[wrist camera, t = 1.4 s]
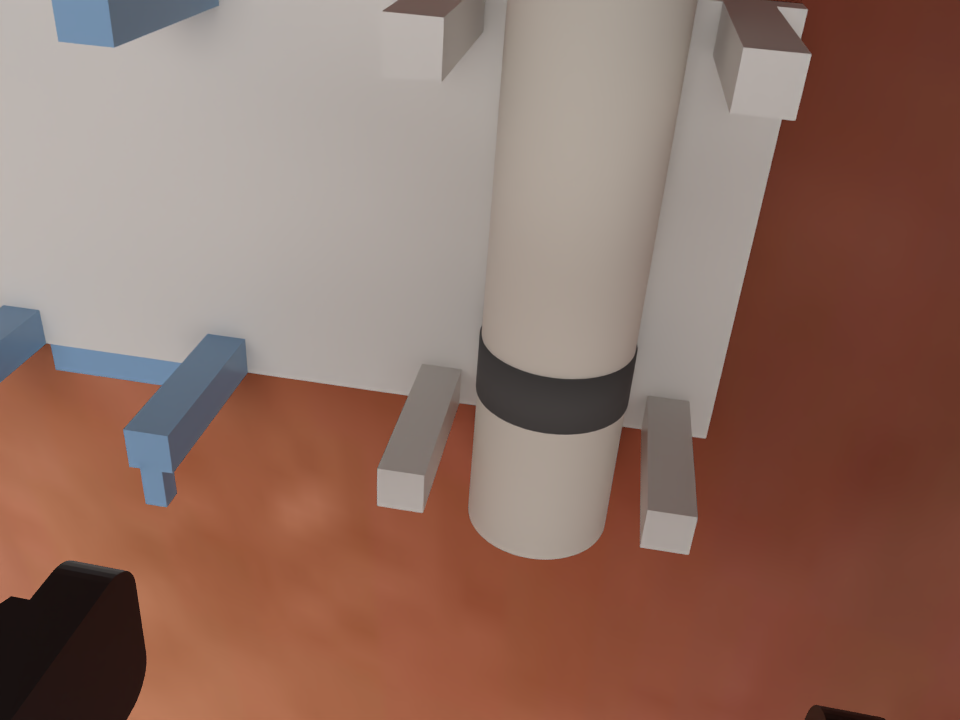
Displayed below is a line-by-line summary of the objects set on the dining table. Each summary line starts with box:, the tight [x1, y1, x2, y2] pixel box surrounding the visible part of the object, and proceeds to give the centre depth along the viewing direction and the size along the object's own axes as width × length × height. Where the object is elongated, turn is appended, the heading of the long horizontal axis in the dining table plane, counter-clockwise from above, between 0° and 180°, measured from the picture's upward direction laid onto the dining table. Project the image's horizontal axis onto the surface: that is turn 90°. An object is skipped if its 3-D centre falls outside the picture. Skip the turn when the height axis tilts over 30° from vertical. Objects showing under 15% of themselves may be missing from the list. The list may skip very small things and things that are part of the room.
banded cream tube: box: [468, 0, 698, 560], centre depth 22 cm, size 16×4×4 cm, turn 176°
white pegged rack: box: [0, 0, 812, 555], centre depth 23 cm, size 26×13×6 cm, turn 86°
